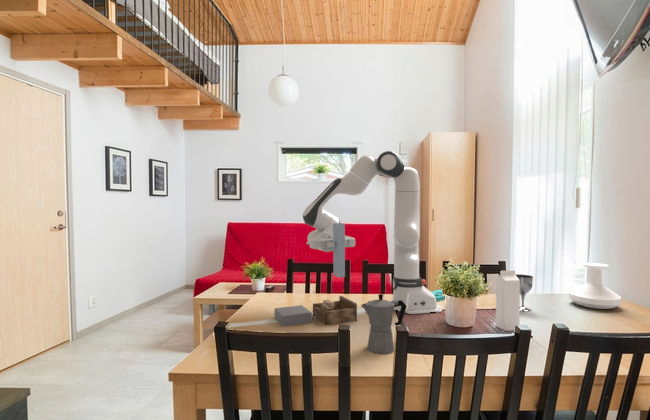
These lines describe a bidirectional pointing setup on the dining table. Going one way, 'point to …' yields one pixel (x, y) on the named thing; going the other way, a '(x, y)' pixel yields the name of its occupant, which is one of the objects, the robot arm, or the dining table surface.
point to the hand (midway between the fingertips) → (339, 244)
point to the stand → (293, 315)
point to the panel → (339, 250)
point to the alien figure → (438, 295)
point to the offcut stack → (327, 305)
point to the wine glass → (524, 288)
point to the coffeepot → (382, 324)
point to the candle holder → (595, 290)
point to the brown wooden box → (337, 312)
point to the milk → (507, 300)
